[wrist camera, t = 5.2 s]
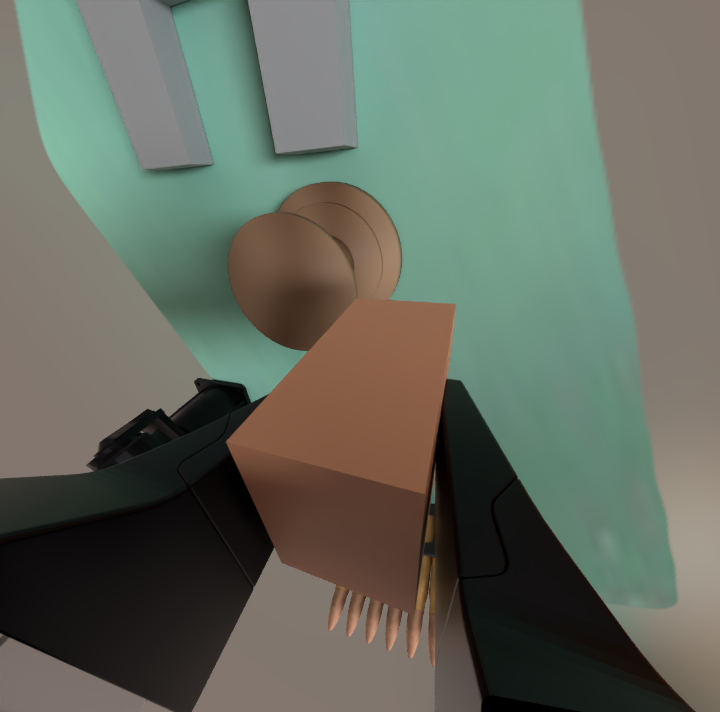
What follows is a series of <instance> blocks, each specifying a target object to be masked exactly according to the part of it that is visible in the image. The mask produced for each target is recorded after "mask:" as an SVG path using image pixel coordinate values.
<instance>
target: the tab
mask: <svg viewBox="0 0 720 712" xmlns="http://www.w3.org/2000/svg"><path fill="white" fill-rule="evenodd" d="M455 308H456V304H445V303H428V302H412V301H395V300H378V299H361V298H357V299H356V300H355V301H354V302H353V303H352V304H351V305H350V306H349V307H348V308H347V310H346V311H345V312H344V313H343V314H342V315H341V316H340V317H339V318H338V319H337V320H336V322H335V323H334V324H333V325H332V326H331V327H330V328H329V329H328V330H327V331H326V333H325V334H324V335H323V336H322V337H321V338H320V339H319V340H318V341H317V342H316V344H315V345H314V346H313V347H312V348H311V349H310V350H309V351H308V352H307V353H306V354H305V356H304V357H303V358H302V359H301V360H300V361H299V362H298V363H297V364H296V365H295V367H294V368H293V369H292V370H291V371H290V372H289V373H288V374H287V375H286V376H285V377H284V379H283V380H282V381H281V382H280V383H279V384H278V385H277V386H276V387H275V388H274V390H273V391H272V392H271V393H270V394H269V395H268V396H267V397H266V398H265V399H264V401H263V402H262V403H261V404H260V405H259V406H258V407H257V408H256V409H255V410H254V411H253V413H252V414H251V415H250V416H249V417H248V418H247V419H246V420H245V421H244V422H243V424H242V425H241V426H240V427H239V428H238V429H237V430H236V431H235V432H234V433H233V434H232V436H231V437H230V438H229V439H228V440H227V441H226V443H227V446H228V448H229V450H230V452H231V454H232V456H233V459H234V461H235V463H236V465H237V467H238V469H239V471H240V474H241V476H242V478H243V480H244V482H245V484H246V487H247V489H248V491H249V493H250V495H251V497H252V500H253V502H254V504H255V506H256V508H257V510H258V513H259V515H260V517H261V519H262V521H263V523H264V526H265V528H266V530H267V532H268V534H269V536H270V538H271V541H272V543H273V545H274V547H275V549H276V551H277V554H278V556H279V558H280V560H281V562H282V563H283V564H286V565H288V566H291V567H294V568H296V569H298V570H301V571H304V572H306V573H309V574H311V575H314V576H316V577H319V578H322V579H324V580H326V581H329V582H331V583H334V584H336V585H339V586H341V587H344V588H346V589H349V590H351V591H354V592H356V593H359V594H362V595H364V596H367V597H369V598H372V599H374V600H377V601H379V602H382V603H384V604H387V605H389V606H392V607H394V608H397V609H399V610H402V611H404V612H407V613H409V614H412V615H415V608H416V601H417V594H418V587H419V580H420V573H421V566H422V559H423V552H424V545H425V538H426V531H427V524H428V517H429V510H430V503H431V496H432V489H433V482H434V475H435V467H436V453H437V444H438V435H439V425H440V416H441V407H442V401H443V395H444V389H445V383H446V379H447V378H448V369H449V360H450V352H451V343H452V334H453V325H454V317H455Z"/></svg>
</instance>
